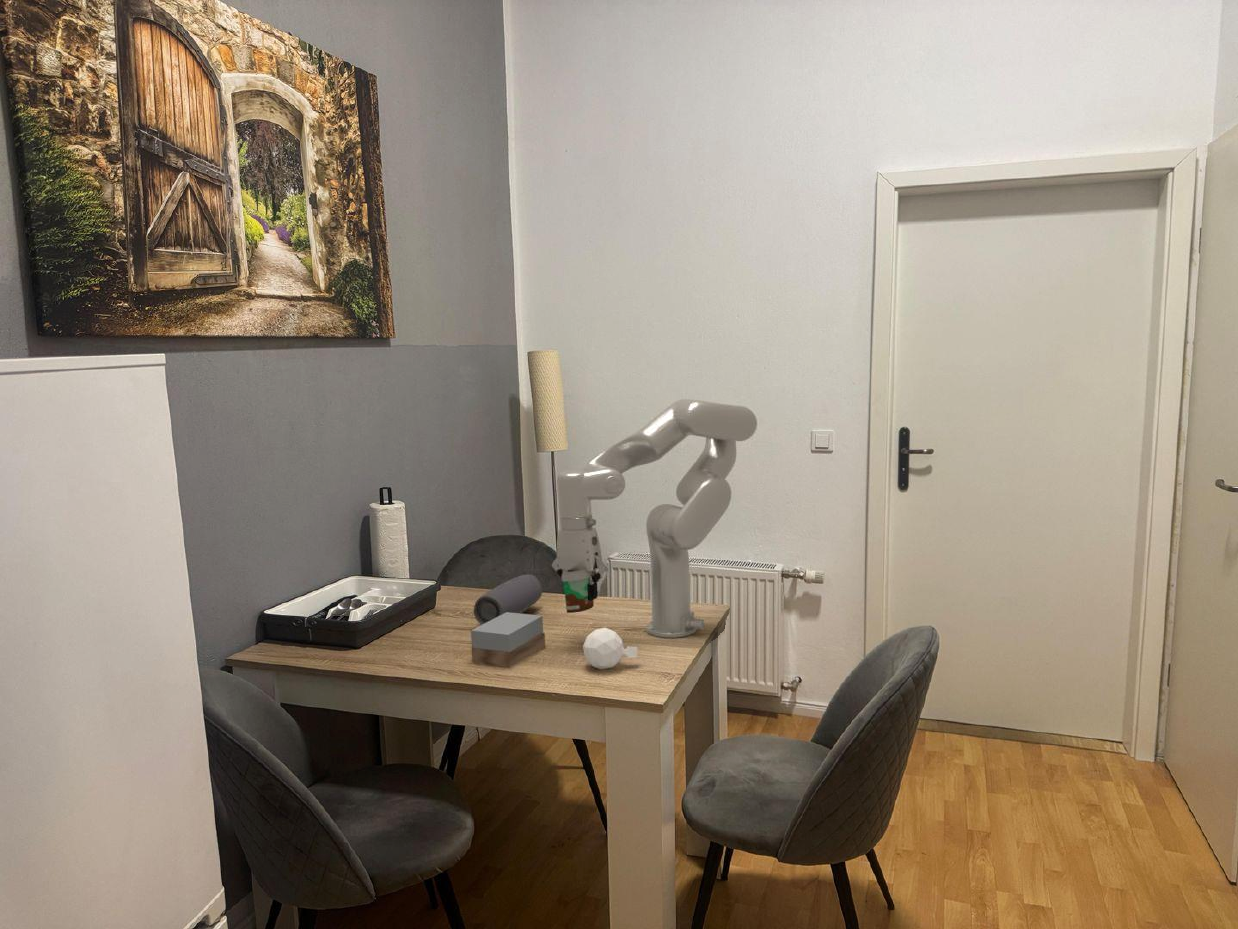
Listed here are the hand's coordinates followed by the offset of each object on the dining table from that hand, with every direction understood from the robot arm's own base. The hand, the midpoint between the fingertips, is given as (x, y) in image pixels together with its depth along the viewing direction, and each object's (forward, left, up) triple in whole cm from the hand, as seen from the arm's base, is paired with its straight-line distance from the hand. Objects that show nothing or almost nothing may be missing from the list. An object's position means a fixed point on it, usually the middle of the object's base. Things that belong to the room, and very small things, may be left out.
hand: (581, 597), depth 203 cm
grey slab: (+12, +13, -8) cm, 20 cm away
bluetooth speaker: (+29, -9, -12) cm, 33 cm away
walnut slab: (+12, +13, -12) cm, 21 cm away
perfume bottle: (-14, +10, -12) cm, 21 cm away
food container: (-1, 0, -2) cm, 3 cm away
